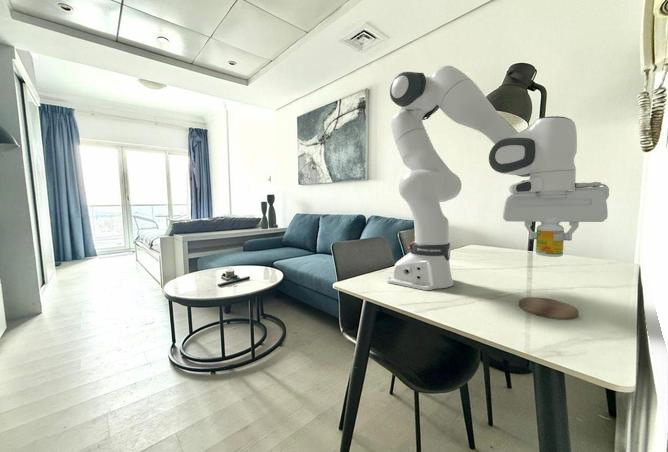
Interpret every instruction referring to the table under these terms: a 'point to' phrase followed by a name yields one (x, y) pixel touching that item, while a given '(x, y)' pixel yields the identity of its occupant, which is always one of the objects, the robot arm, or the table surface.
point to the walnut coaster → (548, 308)
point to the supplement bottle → (550, 238)
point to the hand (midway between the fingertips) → (549, 239)
